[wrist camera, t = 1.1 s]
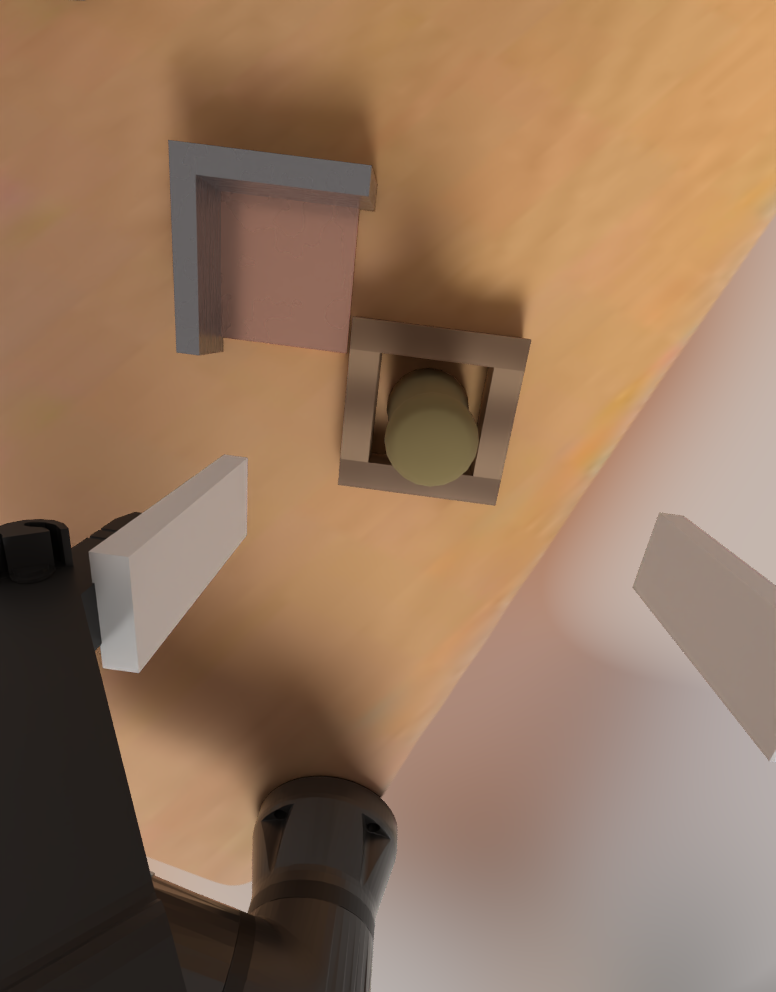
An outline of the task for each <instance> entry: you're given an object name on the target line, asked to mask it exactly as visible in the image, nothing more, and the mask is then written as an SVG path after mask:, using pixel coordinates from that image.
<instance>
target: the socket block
mask: <svg viewBox="0 0 776 992" xmlns="http://www.w3.org/2000/svg"><path fill="white" fill-rule="evenodd" d="M530 344H531V340H530V339H525V338H518V337H510V336H502V335H494V334H487V333H479V332H471V331H463V330H456V329H448V328H440V327H432V326H424V325H417V324H409V323H401V322H393V321H386V320H378V319H370V318H362V317H353V319H352V331H351V342H350V354H349V365H348V377H347V388H346V399H345V411H344V422H343V434H342V445H341V457H340V468H339V480H338V485H343V486H351V487H359V488H366V489H374V490H381V491H389V492H396V493H404V494H411V495H419V496H427V497H434V498H442V499H449V500H457V501H464V502H472V503H479V504H487V505H494V506H495V505H496V500H497V496H498V491H499V486H500V482H501V477H502V473H503V468H504V463H505V459H506V454H507V450H508V445H509V440H510V436H511V431H512V426H513V422H514V417H515V413H516V408H517V403H518V399H519V394H520V390H521V385H522V380H523V376H524V371H525V367H526V362H527V357H528V353H529V348H530ZM382 353H386V354H394V355H401V356H409V357H417V358H425V359H432V360H440V361H448V362H455V363H463V364H471V365H479V366H486V367H488V370H487V375H486V380H485V386H484V391H483V396H482V402H481V407H480V412H479V417H478V423H477V427H478V437H479V444H478V448H477V452H476V456H475V458H474V460H473V461H472V463H471V465H470V466H469V468H468V470H467V471H466V472H464V473H463V474H462V475H461V476H460V477H459V478H458V479H456V480H454V481H452V482H449V483H447V484H445V485H440V486H432V487H429V486H423V485H417V484H415V483H413V482H411V481H409V480H407V479H405V478H404V477H403V476H402V475H401V474H400V473H399V472H398V471H397V470H396V469H394V467H393V466H392V464H391V462H390V460H389V458H388V456H387V455H384V454H377V453H371V450H372V441H373V432H374V423H375V414H376V405H377V396H378V387H379V378H380V369H381V360H382Z"/></svg>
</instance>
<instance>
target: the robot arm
mask: <svg viewBox="0 0 776 992" xmlns="http://www.w3.org/2000/svg"><path fill="white" fill-rule="evenodd" d="M247 477H248V458H246V457H239V456H231V455H223V456H221V457H220V458H219V459H217V460H216V461H214V462H213V463H212V464H210V465H209V466H207V467H206V468H205V469H203V470H202V471H200V472H199V473H198V474H196V475H195V476H193V477H192V478H191V479H189V480H188V481H186V482H185V483H184V484H182V485H181V486H179V487H178V488H177V489H175V490H174V491H172V492H171V493H170V494H168V495H167V496H165V497H164V498H163V499H161V500H160V501H158V502H157V503H156V504H154V505H153V506H151V507H150V508H149V509H147V510H146V511H144V512H143V513H139V512H134V513H131V514H128V515H125V516H122V517H119V518H117V519H114V520H113V521H111V522H110V523H108V524H107V525H105V526H104V527H103V528H101V530H98V531H97V532H95V533H94V534H92V535H91V536H90V538H86V539H85V540H83V541H82V542H80V543H79V544H77V545H76V546H74V547H73V548H71V544H70V537H69V530H68V527H67V526H66V525H65V524H64V523H61V522H58V521H55V520H44V519H35V520H22V521H17V522H12V523H7V524H4V525H1V526H0V992H370V990H371V973H372V957H373V940H374V927H375V917H376V914H377V911H378V908H379V905H380V903H381V900H382V897H383V894H384V891H385V888H386V885H387V882H388V880H389V876H390V874H391V871H392V868H393V865H394V862H395V858H396V852H397V823H396V820H395V817H394V815H393V813H392V811H391V810H390V808H389V807H388V806H387V804H386V803H385V802H384V801H383V800H382V799H381V798H380V797H378V796H377V795H376V794H375V793H373V792H372V791H370V790H368V789H367V788H365V787H363V786H361V785H358V784H356V783H353V782H350V781H347V780H344V779H339V778H333V777H306V778H300V779H296V780H293V781H290V782H287V783H285V784H283V785H281V786H279V787H278V788H276V789H275V790H274V791H272V792H271V793H270V794H269V795H268V796H267V797H266V799H265V800H264V802H263V803H262V806H261V808H260V811H259V814H258V818H257V821H256V824H255V827H254V832H253V859H252V899H251V903H250V907H249V910H248V913H245V912H243V911H240V910H238V909H236V908H234V907H231V906H228V905H226V904H223V903H220V902H218V901H215V900H213V899H210V898H208V897H205V896H203V895H200V894H197V893H195V892H192V891H190V890H188V889H185V888H183V887H180V886H178V885H176V884H173V883H171V882H169V881H166V880H163V879H161V878H159V877H156V876H155V873H153V872H151V871H149V866H148V862H147V858H146V854H145V850H144V846H143V842H142V838H141V834H140V830H139V826H138V822H137V818H136V814H135V810H134V806H133V802H132V798H131V794H130V790H129V786H128V782H127V778H126V774H125V770H124V766H123V762H122V758H121V754H120V750H119V746H118V742H117V738H116V734H115V730H114V726H113V722H112V718H111V714H110V710H109V706H108V702H107V698H106V694H105V690H104V686H103V682H102V678H101V674H100V670H99V666H98V662H97V658H96V654H95V650H96V649H97V648H98V647H99V646H100V648H101V656H102V664H103V668H106V669H113V670H120V671H127V672H134V673H140V671H141V670H142V669H143V667H144V666H145V665H146V664H147V662H148V661H149V660H150V659H151V657H152V656H153V655H154V653H155V652H156V651H157V650H158V648H159V647H160V646H161V644H162V643H163V642H164V641H165V639H166V638H167V637H168V635H169V634H170V633H171V632H172V630H173V629H174V628H175V626H176V625H177V624H178V623H179V621H180V620H181V619H182V618H183V616H184V615H185V614H186V612H187V611H188V610H189V609H190V607H191V606H192V605H193V603H194V602H195V601H196V600H197V598H198V597H199V596H200V594H201V593H202V592H203V591H204V589H205V588H206V587H207V585H208V584H209V583H210V582H211V580H212V579H213V578H214V577H215V575H216V574H217V573H218V571H219V570H220V569H221V568H222V566H223V565H224V564H225V562H226V561H227V560H228V559H229V557H230V556H231V555H232V553H233V552H234V551H235V550H236V548H237V547H238V546H239V545H240V543H241V542H242V541H243V539H244V538H245V537H246V536H247ZM633 589H634V590H635V591H636V593H637V594H638V595H639V596H640V598H641V599H642V600H643V601H644V603H645V604H646V605H647V607H648V608H649V609H650V610H651V611H652V613H653V614H654V615H655V617H656V618H657V619H658V621H659V622H660V623H661V624H662V626H663V627H664V628H665V629H666V631H667V632H668V633H669V634H670V636H671V637H672V638H673V639H674V641H675V642H676V643H677V645H678V646H679V647H680V648H681V650H682V651H683V652H684V654H685V655H686V656H687V657H688V659H689V660H690V661H691V662H692V664H693V665H694V666H695V668H696V669H697V670H698V671H699V673H700V674H701V675H702V676H703V678H704V679H705V680H706V682H707V683H708V684H709V685H710V687H711V688H712V689H713V690H714V692H715V693H716V694H717V695H718V697H719V698H720V699H721V700H722V702H723V703H724V704H725V706H726V707H727V708H728V709H729V711H730V712H731V713H732V715H733V716H734V717H735V718H736V720H737V721H738V722H739V723H740V725H741V726H742V727H743V729H744V730H745V731H746V732H747V734H748V735H749V736H750V737H751V739H752V740H753V741H754V743H755V744H756V745H757V746H758V748H759V749H760V750H761V751H762V753H763V754H764V755H765V756H766V758H767V759H768V760H769V761H771V762H776V585H774V584H773V583H772V582H770V581H769V580H768V579H766V578H765V577H764V576H762V575H761V574H760V573H758V572H757V571H756V570H755V569H753V568H752V567H751V566H749V565H748V564H747V563H745V562H744V561H743V560H741V559H740V558H739V557H737V556H736V555H735V554H733V553H732V552H731V551H729V550H728V549H727V548H725V547H724V546H723V545H721V544H720V543H719V542H717V541H716V540H715V539H714V538H712V537H711V536H710V535H708V534H707V533H706V532H704V531H703V530H702V529H700V528H699V527H698V526H696V525H695V524H694V523H692V522H691V521H690V520H688V519H687V518H686V517H684V516H681V515H673V514H666V513H659V515H658V517H657V520H656V523H655V526H654V529H653V531H652V534H651V537H650V540H649V543H648V545H647V548H646V551H645V554H644V557H643V560H642V562H641V565H640V568H639V570H638V573H637V576H636V579H635V582H634V584H633Z"/></svg>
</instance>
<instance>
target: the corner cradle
mask: <svg viewBox="0 0 776 992" xmlns="http://www.w3.org/2000/svg"><path fill="white" fill-rule="evenodd" d="M168 142H169V168H170V194H171V221H172V247H173V273H174V299H175V325H176V351H177V353H185V354H193V355H205V354H211V353H217V352H223V337H224V338H232V339H240V340H247V341H255V342H263V343H271V344H278V345H286V346H294V347H301V348H309V349H317V350H325V351H332V352H340V353H347V349H348V337H349V326H350V314H351V302H352V290H353V279H354V267H355V255H356V244H357V232H358V220H359V210H367V211H375V203H376V193H377V182H376V178H375V175H374V172H373V168H372V165H364V164H356V163H348V162H340V161H332V160H324V159H316V158H308V157H300V156H292V155H284V154H276V153H268V152H260V151H252V150H244V149H236V148H228V147H220V146H212V145H204V144H196V143H188V142H180V141H172V140H168Z"/></svg>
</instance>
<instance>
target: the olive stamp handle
mask: <svg viewBox="0 0 776 992" xmlns="http://www.w3.org/2000/svg"><path fill="white" fill-rule="evenodd" d="M387 414H388V421H389V422H388V424H387V427H386V433H385V439H384V441H385V448H386V454H387V456H388V458H389V460H390V462H391V464H392V466H393V467H394V469H396V470H397V471H398V472H399V473H400V474H401V475H402V476H403V477H404V478H405V479H407V480H409V481H411V482H413V483H415V484H417V485H423V486H429V487H432V486H440V485H445V484H447V483H449V482H452V481H454V480H456V479H458V478H459V477H460V476H461V475H462V474H463V473H464V472H466V471H467V470H468V468H469V466H470V465H471V463H472V461H473V460H474V458H475V456H476V452H477V448H478V444H479V437H478V427H477V425H476V423H475V420H474V418H473V416H472V414H471V412H470V411H469V409H468V398H467V396H466V393H465V391H464V389H463V387H462V385H461V384H460V383H459V382H458V381H457V380H456V379H455V378H454V377H453V376H452V375H450V374H448V373H446V372H444V371H443V370H438V369H432V368H425V369H419V370H415V371H413V372H411V373H409V374H407V375H405V376H404V377H403V378H402V379H401V380H400V381H399V382H398V383H397V384H396V385H395V386H394V388H393V390H392V392H391V394H390V396H389V399H388V405H387Z"/></svg>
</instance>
